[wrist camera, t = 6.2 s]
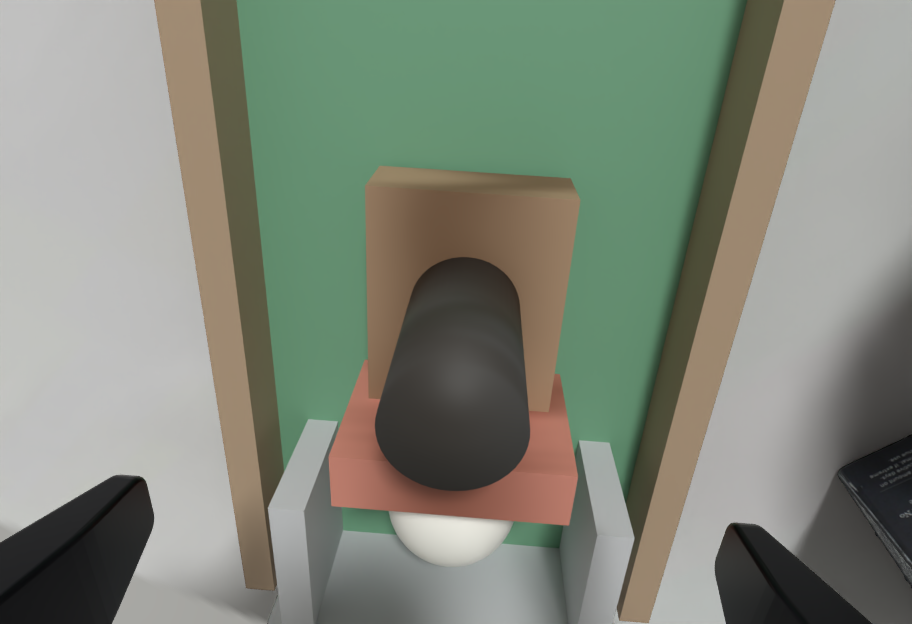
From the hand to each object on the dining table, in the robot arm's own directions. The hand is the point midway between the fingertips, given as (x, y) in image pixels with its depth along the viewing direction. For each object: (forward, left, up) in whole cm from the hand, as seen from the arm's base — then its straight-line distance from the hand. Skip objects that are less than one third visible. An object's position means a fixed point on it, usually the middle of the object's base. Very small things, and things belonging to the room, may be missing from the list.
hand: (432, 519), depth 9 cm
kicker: (0, +1, -9) cm, 9 cm away
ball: (0, +6, -7) cm, 10 cm away
